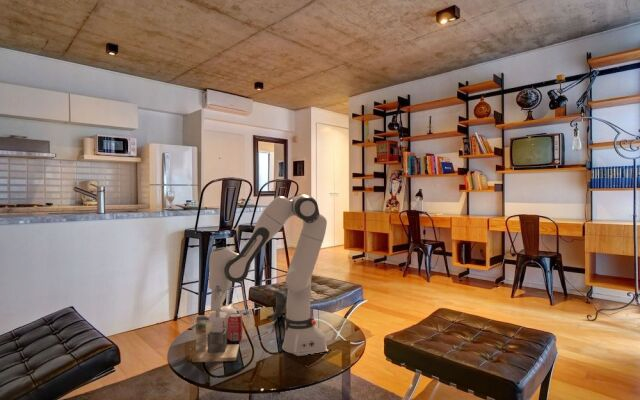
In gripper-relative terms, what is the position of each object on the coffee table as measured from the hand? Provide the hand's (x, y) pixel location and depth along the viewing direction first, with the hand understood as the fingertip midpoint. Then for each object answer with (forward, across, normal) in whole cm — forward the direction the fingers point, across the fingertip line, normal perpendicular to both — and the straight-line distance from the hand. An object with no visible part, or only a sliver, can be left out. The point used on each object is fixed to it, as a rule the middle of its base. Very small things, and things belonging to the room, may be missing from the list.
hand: (218, 314), depth 163 cm
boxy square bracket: (+10, 0, +3) cm, 10 cm away
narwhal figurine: (+17, +46, -28) cm, 57 cm away
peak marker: (+5, -3, +8) cm, 9 cm away
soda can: (+17, +15, -6) cm, 24 cm away
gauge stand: (+17, -2, 0) cm, 17 cm away
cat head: (+17, +29, 0) cm, 34 cm away
